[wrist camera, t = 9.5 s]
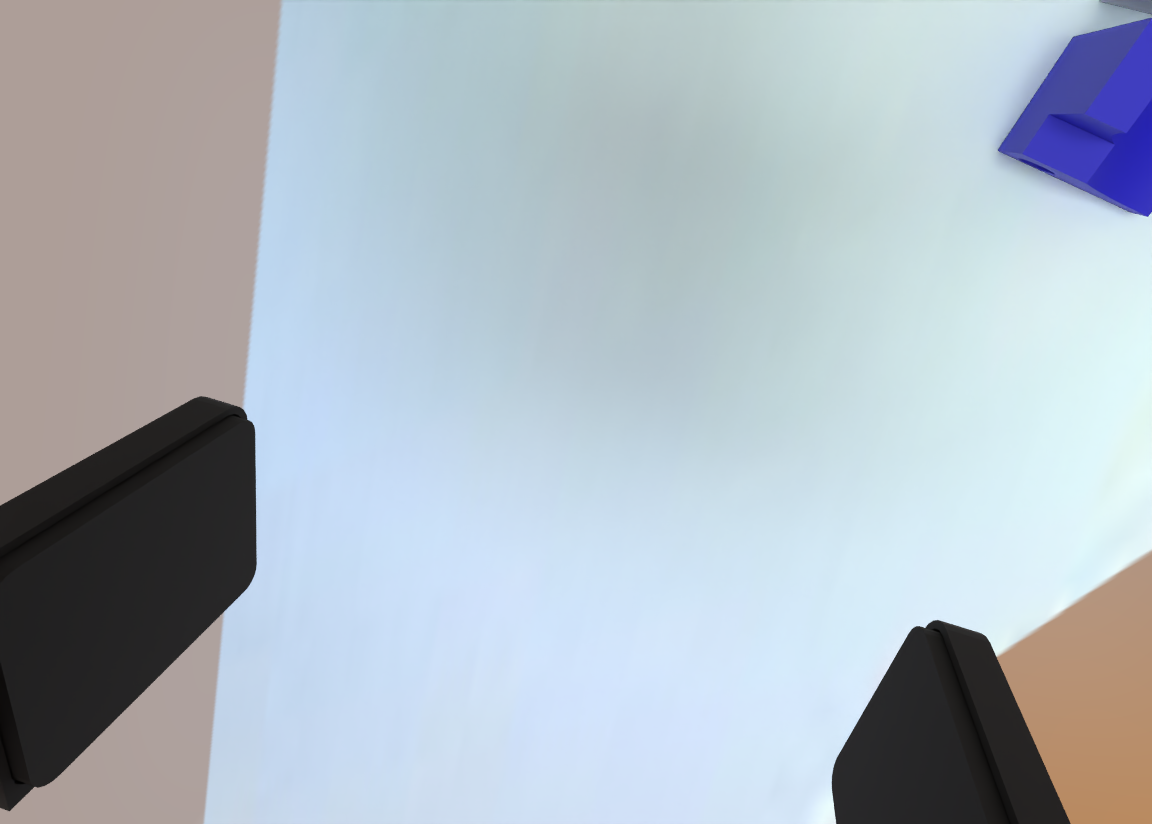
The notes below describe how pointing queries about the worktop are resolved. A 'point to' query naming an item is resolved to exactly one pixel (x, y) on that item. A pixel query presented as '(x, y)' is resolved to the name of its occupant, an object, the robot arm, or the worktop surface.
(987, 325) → the worktop surface
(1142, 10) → the end stop block
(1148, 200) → the cable clip
